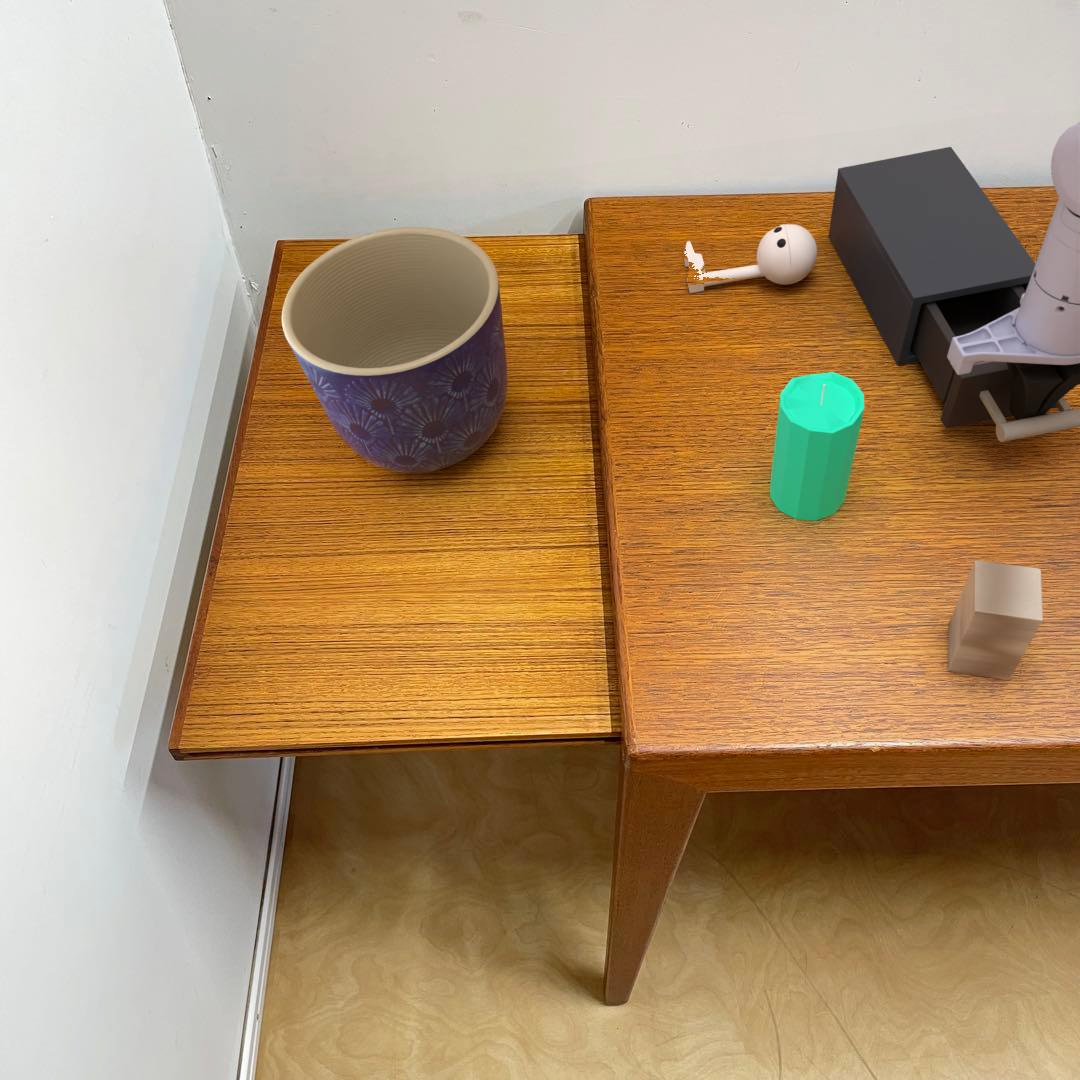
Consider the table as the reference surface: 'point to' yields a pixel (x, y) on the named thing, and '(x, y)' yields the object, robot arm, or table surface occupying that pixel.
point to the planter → (403, 345)
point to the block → (994, 619)
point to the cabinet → (920, 239)
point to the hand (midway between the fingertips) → (1022, 416)
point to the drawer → (977, 367)
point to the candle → (815, 444)
